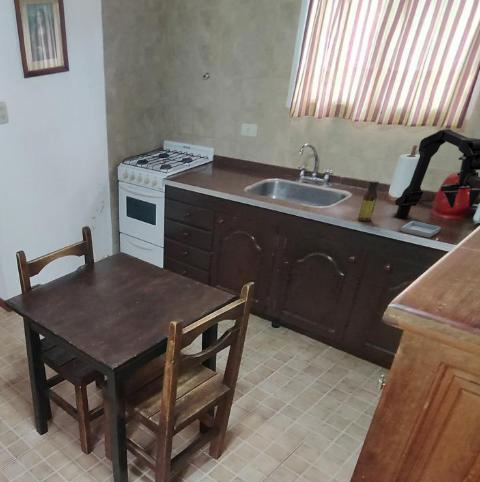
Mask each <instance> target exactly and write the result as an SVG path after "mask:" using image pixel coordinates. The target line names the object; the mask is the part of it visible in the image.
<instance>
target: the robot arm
mask: <svg viewBox="0 0 480 482" xmlns="http://www.w3.org/2000/svg"><path fill="white" fill-rule="evenodd" d="M446 142H447V143H449V144H451V145H453V146H455V147H457V148H458V149H457V150H458V151H459V152H460V153H461V154H462V155H461V156H460V157H458V159H457V160H458V161H461V165H460V170H459V172H458V173H457V174H456V176H457V177H458V181H457V182H455V183H453V184H452V183H451V184H449V183H448V184H443V185H442V186H441V187H440V192H442V193H443V194H444V195H445V197H446V200H447V202H448V204H449V208H451V209H452V208H454V206H455V202H456V197H457V195H458V194H459V193H460V191H459V190H469V191H468V194H469V195H468V197H469V198H468V205H469V207H473V206H474V204H475V203H476V201H477V200H478V198H479V196H480V176H479V171H480V138H477V137H475V138H473V137H467V136H465V135H463V134H460V133H458V132H456V131H453V129H450V128H447V129H445V128H444V129H440V130H438V131H437V132H435V133H432V134H430V135H428V136H426V137H424V138H423V139H421V140H420V142H419V146H418V154H419V158H418V159H417V163H416V165H415V169H414V172H413V174H412V177H411V180H410V183H409V185H407V187H406V188H405V189H404V190H403V192H402V193H401V196H399V197H398V198H396V199H395V203H394V205H396V206H398V207H397V208H396V212H395V214H394V216H393V217H394V218H397V219H406V220H408V219H409V217H410V212H411V210H412V209H411V208H412V207H416V206H417V205H418V203H419V202H420V200H422V196H423V194H424V190H422V187H421V186H422V184H423V181H424V179H425V176H426V173H427V171H428V168H429V165H430V163H431V160H432V158H433V157H434V155H436V153H438V151H439V149H440V148H441V146H442V145H444V144H445V143H446Z"/></svg>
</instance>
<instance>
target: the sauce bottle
mask: <svg viewBox="0 0 480 482" xmlns="http://www.w3.org/2000/svg"><path fill="white" fill-rule="evenodd" d="M379 183H380V181H379V180H375V179H372V180H369V183H368V188H367V191H366V192H365V193H364V195H363V197H362V202H361V205H360V209H359V213H358V217H357V219H358V220H359V221H361V222H369V221H371V220H372V218H373V214H374V210H375V208H376V207H375V206H376V204H377V203H376V202H377V201H378V200H377V199H378V193H377V192H378V191H377V190H378V185H379Z"/></svg>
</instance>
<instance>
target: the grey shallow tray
mask: <svg viewBox="0 0 480 482" xmlns="http://www.w3.org/2000/svg"><path fill="white" fill-rule="evenodd" d="M441 228H442V227H441V226H438V225H433V224H430V223H429V224H428V223H424V222H420V221H415V220H411V221H409V222H408V223H406V224H404V225H403V226H401V228H400V232H402V233H407V234H412V235H416V236H419V237H425V238H427V239H428V238H429V239H430V238H431V237H433V236H434V235H436V234H437V233H439V232H440V231H441Z"/></svg>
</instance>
